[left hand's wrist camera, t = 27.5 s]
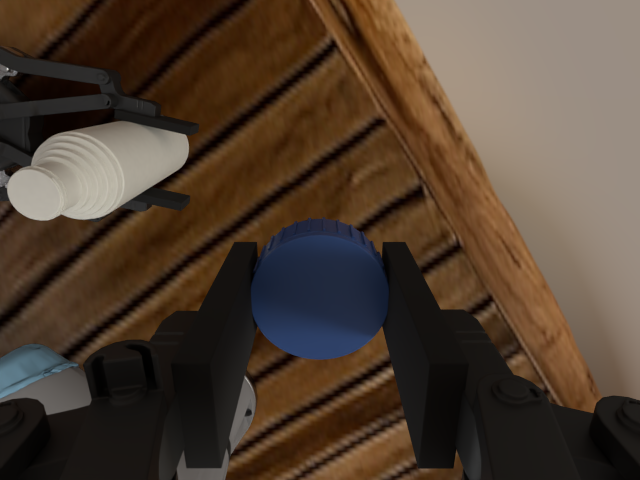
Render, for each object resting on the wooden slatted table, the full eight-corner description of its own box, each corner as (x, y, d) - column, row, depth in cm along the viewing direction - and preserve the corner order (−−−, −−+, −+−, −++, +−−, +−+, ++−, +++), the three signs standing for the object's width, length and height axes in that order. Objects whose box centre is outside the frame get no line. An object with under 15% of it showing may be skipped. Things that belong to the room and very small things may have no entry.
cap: (395, 318, 15) (404, 344, 14) (276, 344, 16) (271, 373, 14) (369, 201, 14) (375, 217, 12) (237, 234, 14) (227, 253, 12)
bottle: (155, 184, 46) (33, 261, 27) (117, 134, 44) (-44, 178, 25) (200, 154, 45) (109, 212, 25) (164, 102, 43) (34, 120, 24)
